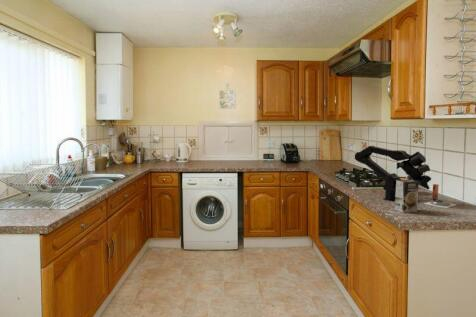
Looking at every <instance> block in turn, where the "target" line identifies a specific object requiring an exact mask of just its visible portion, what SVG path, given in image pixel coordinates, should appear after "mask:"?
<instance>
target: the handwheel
mask: <svg viewBox="0 0 476 317" xmlns="http://www.w3.org/2000/svg"><path fill="white" fill-rule="evenodd" d="M439 186H440V185H439V184H437V183H433V184H432V192H431V193H432V194H431V200H429V202H430V203H433V204H437V205H451V201H449V200H443V199H438V198H439Z"/></svg>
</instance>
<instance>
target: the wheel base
mask: <svg viewBox="0 0 476 317" xmlns="http://www.w3.org/2000/svg"><path fill="white" fill-rule="evenodd" d="M423 204H424V205H427V206H433V207H438V208H442V209H447V208H452V207H455V206H457V204H456V203H451V205H437V204H433V203H430V201H427V202H424V203H423Z"/></svg>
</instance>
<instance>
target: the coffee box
mask: <svg viewBox="0 0 476 317" xmlns="http://www.w3.org/2000/svg"><path fill="white" fill-rule="evenodd" d="M419 186H420V185H419V181H414V180H396V195H395V201H394V211H396V210H397V212H400V213H402V214H404V213H415V212H416V213H417V212H418V201H419V200H418V199H419Z"/></svg>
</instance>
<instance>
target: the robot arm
mask: <svg viewBox="0 0 476 317" xmlns="http://www.w3.org/2000/svg"><path fill="white" fill-rule="evenodd" d="M372 154H376V155H380V156H384V157H388V158H390V159H392V160H394V161H397V162H396V170H398V169H400V168H401V169H402V171H403V172H404V173H405V174H406V178H407V179H408V180H414V181H419V186H420V187H422V188H424V189H426V190H429V189H430V186H429V184H428V183H429V182H430V181H431V180H432V177H431V176H429V175H425V173H427V172H430V171H431V169H430V166H429V164H426V163H425V162H426V161H427V160H426V156H424V155H423V154H422V153H421V152H420V151H415V152H414V153H413V154H409V153H407V151H406V150H403V149H401V150H399V149H398V150H397V149H396V150H395V149H394V150H392V149H388V148H385V147H378V146H375V145H368V146H367V147H366V148H364V149H363V150H360V151H358V152H356V153H355V154H354V159H355V161H356V162H358V163H361V164H363V165H365V166H367V167H368V168H369V169H370V170H372V171H373V172H375V173H376V174H377V175H378V176H380V177H381V178H382V179H383V181H384V182H385V184H384V185H383V186H382V188H383V190H385V194H384V195H385V196H384V197H383V198H382V199H383V200H386V201H391V202H395V195H396V180H401V179H400V178H401V176H398V175H397V174H396V173H390V172H388V171H387V170H385V169H384V168H383V167H381V166H380V165H379V164H378V163H377V162H375V161H374V160H373V159H372V158H371V156H372ZM424 163H425V164H424Z"/></svg>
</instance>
